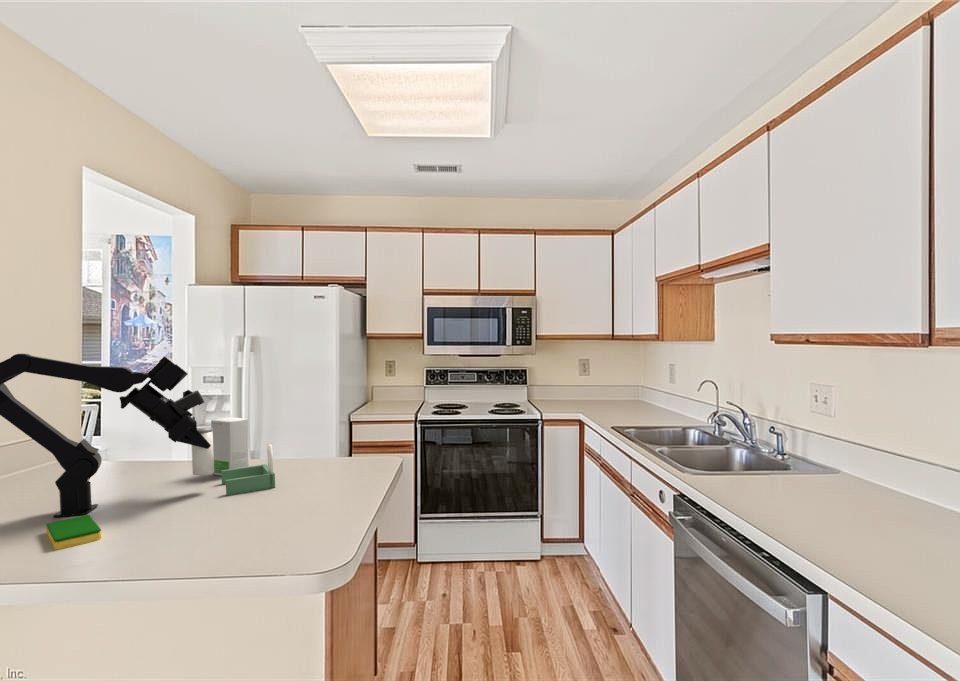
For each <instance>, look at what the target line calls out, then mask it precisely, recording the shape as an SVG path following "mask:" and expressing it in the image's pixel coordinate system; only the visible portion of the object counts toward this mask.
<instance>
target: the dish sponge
mask: <svg viewBox="0 0 960 681" xmlns="http://www.w3.org/2000/svg"><path fill="white" fill-rule="evenodd" d="M46 534H47V537H48V538H49V541H50V543H51V545H52V547H53V549H54V551H57V550H63V549H66V548H71V547H75V546H79V545H83V544H88V543H92V542H97V541H100V540H102V529H101V527H100V526H99V525H98V523H97V522H96V521H95V520H94V518H92V516H91V515H90V514H83V515H79V516H76V517H72V518H71V517H70V518H66V519H60V520H56V521H52V522H48V523H46Z"/></svg>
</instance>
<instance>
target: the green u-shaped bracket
mask: <svg viewBox="0 0 960 681" xmlns="http://www.w3.org/2000/svg"><path fill="white" fill-rule="evenodd" d="M266 445H267V447H266V448H267V449H266V450H267V451H266V452H267V453H266V454H267V464H266V463H265V464H257V465H251V466H249V465H248V467H242V468H235V469H228V470H221V485H225V493H226V496H231V495H237V494H243V493H249V492H254V491H261V490H268V489H275V488H276V475H275V474H276V473H275V472H274V460H273V459H274V458H273V457H274V456H273V444H269V443H267V444H266Z"/></svg>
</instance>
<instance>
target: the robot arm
mask: <svg viewBox="0 0 960 681" xmlns="http://www.w3.org/2000/svg"><path fill="white" fill-rule="evenodd" d="M24 373H28V374H34V375H41V376H46V377H53V378H57V379H65V380H72V381H79V382H83V383H86V384H90V385H93V386H95V387H97V388H101V389H104V390H106V391H110V392H112V393H113V392H114V393H124V392H127V391H128V390H130V389H131V388H132V387H133V386H134V385H138V384H142V383H144V382H145V381H146V380H147V379H148V378H149V381H146V383H145V384H144V385H143V386H142V387H141V388H138V387H136V386H135V387H133V389H132V390H130V391H129V393H128V394H126V395H124V396H123V395H122V396H120V397H119V398H118V399H119V401H120V409H122V410H123V409H125V408H126V407H128V405H129V404H131V405H132V406H133V407H135V409H137V410H139V411H140V412H141V413H143V414H144V415H146V417H148V418H149V420H150V421H152V422H155V423H156V424H157V425H159V426H160V427H161V428H163V429H164V431H165V432H167V433H168V434H167V435H168V437H167V438H169V439H170V440H171V441H173V442H174V443H176V442H178V443H181V444H182V443H183V444H186V445H191V446H192V445H194V446H198V447H202V448H206V449H208V448H209V447H210V446H211V445H210V444H209V443H208V441H207V440H206V439H205V438H204V437H203V436H202V435H201V434H200V432H199V431H198V430H197V428H198V426H197V425H198V424H197V423H198V422H197V420H196V418H195V416H193V413H192V412H191V411H189V410H191V409H193V408H194V407H197V406H201V405H202V404H204V403H205V400H204V398H203V396H202V395H201V393H200V392H199V390H197V389H196V390H194V391H191V390H190V389H186V390H184V391H183V392H182V397H180V398H178V399H177V400H175V401H174V400H173V399H172V398H167V396H165V395H164V394H162V393H161V392H160V391H162V392H165V391H167V390H168V391H169V392H172V390H174V388H175V387H176V386H177V385H178V384H180V382H182V381H183V379H185V378H186V377H187V376H188V375H189V374H188V372H187V371H185V370H184V369H183V368H182V367H180V366H179V365H178V364H175V363H174V362H173V361H171V360H170V359H168V357H166V356H163V357H162V358H161V359H160V360H159V361H158V362H157V363H156V364H155V366H153V368H152V369H150V370H149V371H148V372H145V371H142V372H138V371H137V372H136V371H133V370H132V369H130V368H129V367H126V366H107V365H106V366H105V365H104V366H102V365H101V366H98V365H97V366H96V365H87V364H80V363H75V362H70V361H69V362H68V361H64V360H63V361H62V360H58V359H52V358H46V357H41V356H40V357H39V356H35V355H32V354H29V353H17V354H13V355H12V356H11V357H9V358H7V359H5V360H3V361H1V362H0V416H1V417H2V418H4V419H5V420H6V421H8V422H9V423H10V424H12V425H13V426H14V427H15V428H17V429H18V430H19V431H21V432H22V433H24V434H25V435H27V436H28V437H29V438H31V439H32V440H33V441H35V443H38V444H39V446H41V447H42V448H44V449H46V451H47V452H50V453H51V454H52V455H53V457H54V459H56V461H57V463H58V464H59V466H60V467H61V468H62V469H64V471H63V473H62V474H61V475H60V476H59V477H58V478H57V479H56V480H55V481H54V482H55V483H54V484H55V485H56V488H57V489H58V491H59V492H58V493H59V508H60V509H59V511H58V512H56V513H54V514H53V516H52V517H53V518H62V517H63V518H64V517H70V516H83V515H88V513H90V512H92V511H93V510H95V509H96V508H97V507H99V504H98V503H95V504H92V486H91V481H90V479H91V478H92V477H93V476H94V475H96V473H97V472H98V470H99V469H100V467H101V465H102V456H101V454H100V453H99V452H98V451H99V450H100V448H97V447H94V446H92V444H90V443H89V441H88V440H86V438H83V439H82V440H81V441H79V442H77V441H74V440H72V439H70V438H68V437H67V436H65V435H64V434H63V433H62V432H60V431H59V430H57V429H56V428H55V427H54V426H53V425H51V424H50V423H49V422H47V421H46V420H44V419H43V418H42V417H41V416H39V415H38V414H36V413H35V412H34V411H33V410H31V409H30V408H29V407H27V405H25V404H23V403H22V402H21V401H19V400H18V399H17V398H16V397H15V396H14V395H13V394H12V392H11V391H10V389H9V388H8V386H7V385H6V382H8V381H9V382H10V380H13V379H14V378H16V377H18V376H19V375H22V374H24ZM150 384H152V385H153V386H154V387H156V388H158V389H159V390H160V391H159V390H157V389H155V388H154V387H153V386H151V385H150Z"/></svg>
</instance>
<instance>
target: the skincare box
mask: <svg viewBox="0 0 960 681" xmlns="http://www.w3.org/2000/svg"><path fill="white" fill-rule="evenodd" d="M210 425H211V427H212V428H213V452H214V473H211V475H215V476H221V470H228V469H235V468H242V467H249V418H243V417H242V418H241V417H233V416H228V417H221V418H216V419H211V420H210Z"/></svg>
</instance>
